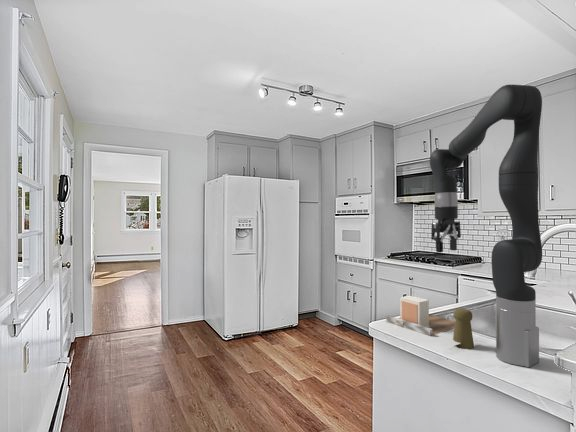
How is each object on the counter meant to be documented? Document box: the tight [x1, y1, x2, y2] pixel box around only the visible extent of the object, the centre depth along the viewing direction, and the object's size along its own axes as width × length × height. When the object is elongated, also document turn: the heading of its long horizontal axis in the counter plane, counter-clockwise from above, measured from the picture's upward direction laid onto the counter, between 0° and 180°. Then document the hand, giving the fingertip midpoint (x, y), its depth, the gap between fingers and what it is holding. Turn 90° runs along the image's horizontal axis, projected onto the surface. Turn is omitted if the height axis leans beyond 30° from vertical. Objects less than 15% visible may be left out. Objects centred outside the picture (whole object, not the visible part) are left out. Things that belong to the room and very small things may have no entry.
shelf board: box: [385, 313, 456, 337], centre depth 126 cm, size 18×20×4 cm
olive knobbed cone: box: [452, 308, 475, 350], centre depth 109 cm, size 6×6×11 cm
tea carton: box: [399, 295, 430, 327], centre depth 124 cm, size 8×5×9 cm, turn 33°
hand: (446, 251), depth 127 cm, fingers open, 8 cm apart
